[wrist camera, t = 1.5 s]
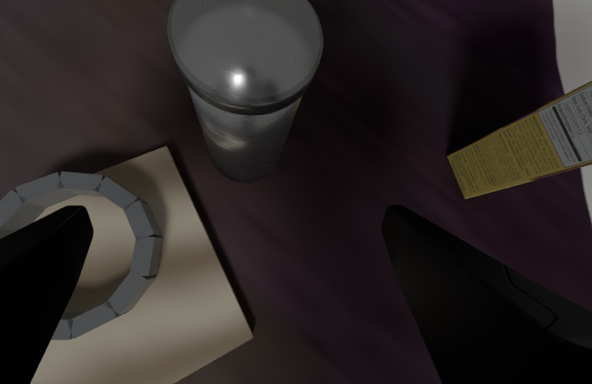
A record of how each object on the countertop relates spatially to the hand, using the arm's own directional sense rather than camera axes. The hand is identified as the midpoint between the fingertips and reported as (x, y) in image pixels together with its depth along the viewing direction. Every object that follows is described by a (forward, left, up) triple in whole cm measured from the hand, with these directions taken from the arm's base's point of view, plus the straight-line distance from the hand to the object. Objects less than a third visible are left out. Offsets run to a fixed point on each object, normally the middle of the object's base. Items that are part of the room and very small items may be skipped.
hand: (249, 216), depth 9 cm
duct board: (+1, +9, -13) cm, 16 cm away
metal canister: (+6, -3, -13) cm, 14 cm away
